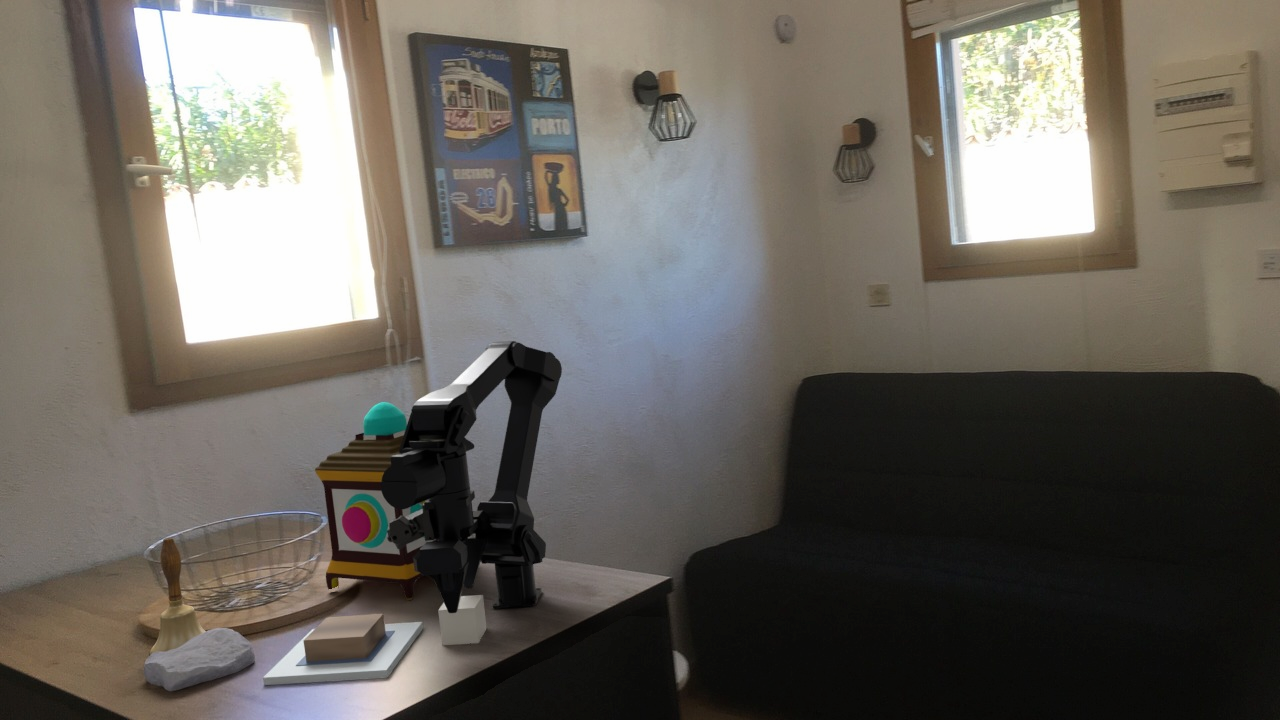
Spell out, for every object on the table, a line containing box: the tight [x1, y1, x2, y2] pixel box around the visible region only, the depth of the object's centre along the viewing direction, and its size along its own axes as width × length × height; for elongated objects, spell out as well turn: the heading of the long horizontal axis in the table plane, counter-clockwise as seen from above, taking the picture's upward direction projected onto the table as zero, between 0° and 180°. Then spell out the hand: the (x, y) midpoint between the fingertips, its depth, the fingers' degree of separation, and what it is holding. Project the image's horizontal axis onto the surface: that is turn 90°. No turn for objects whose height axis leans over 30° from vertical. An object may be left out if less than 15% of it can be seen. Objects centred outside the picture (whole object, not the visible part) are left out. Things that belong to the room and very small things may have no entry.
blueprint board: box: [262, 613, 424, 686], centre depth 129 cm, size 16×16×4 cm
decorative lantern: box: [314, 401, 446, 601], centre depth 158 cm, size 20×20×30 cm
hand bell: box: [149, 537, 206, 656], centre depth 137 cm, size 8×8×16 cm
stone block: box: [142, 627, 256, 692], centre depth 128 cm, size 12×5×10 cm
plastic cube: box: [438, 594, 487, 646], centre depth 132 cm, size 5×5×5 cm
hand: (461, 600), depth 131 cm, fingers open, 9 cm apart
